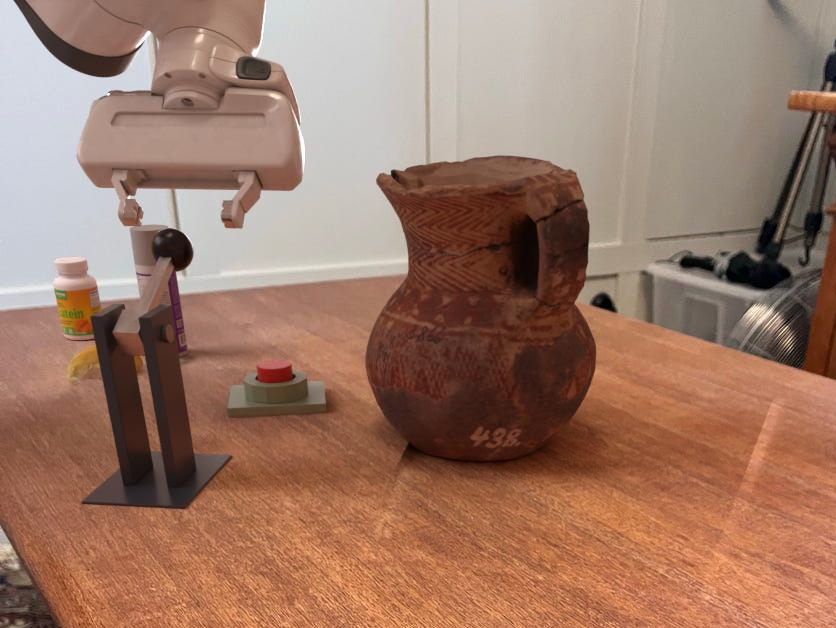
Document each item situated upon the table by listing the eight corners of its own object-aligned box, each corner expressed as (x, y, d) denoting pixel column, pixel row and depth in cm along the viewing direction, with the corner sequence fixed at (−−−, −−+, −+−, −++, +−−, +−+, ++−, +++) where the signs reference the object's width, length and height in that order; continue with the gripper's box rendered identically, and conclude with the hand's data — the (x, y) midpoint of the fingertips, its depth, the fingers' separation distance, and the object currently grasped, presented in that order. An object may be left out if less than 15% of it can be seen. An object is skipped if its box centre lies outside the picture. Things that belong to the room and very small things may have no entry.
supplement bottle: (56, 340, 134) (39, 263, 129) (76, 329, 139) (61, 255, 134) (94, 341, 133) (79, 264, 128) (113, 331, 138) (99, 256, 133)
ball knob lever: (164, 254, 91) (152, 218, 88) (203, 255, 91) (191, 219, 88) (116, 361, 84) (100, 325, 81) (158, 362, 83) (144, 326, 80)
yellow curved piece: (148, 366, 123) (143, 333, 121) (136, 389, 116) (129, 353, 114) (78, 368, 123) (71, 335, 120) (61, 391, 115) (53, 356, 113)
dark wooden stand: (141, 465, 95) (109, 292, 87) (234, 469, 94) (210, 295, 86) (84, 517, 85) (42, 327, 77) (187, 523, 84) (155, 330, 76)
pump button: (257, 386, 104) (255, 369, 104) (258, 376, 108) (256, 360, 107) (293, 385, 105) (291, 368, 104) (293, 375, 108) (291, 358, 107)
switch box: (229, 429, 104) (224, 391, 102) (233, 404, 111) (228, 368, 109) (327, 423, 105) (324, 386, 103) (325, 400, 112) (322, 364, 110)
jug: (333, 461, 96) (310, 173, 83) (419, 396, 113) (411, 148, 100) (557, 492, 90) (570, 186, 77) (613, 418, 107) (631, 157, 94)
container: (171, 346, 131) (152, 223, 123) (195, 352, 129) (177, 226, 121) (142, 355, 128) (120, 228, 120) (166, 361, 125) (145, 232, 118)
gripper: (79, 65, 91) (51, 197, 88) (300, 65, 89) (280, 201, 86) (109, 116, 97) (84, 243, 94) (317, 118, 95) (299, 247, 92)
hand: (179, 223), depth 90 cm, fingers open, 8 cm apart
